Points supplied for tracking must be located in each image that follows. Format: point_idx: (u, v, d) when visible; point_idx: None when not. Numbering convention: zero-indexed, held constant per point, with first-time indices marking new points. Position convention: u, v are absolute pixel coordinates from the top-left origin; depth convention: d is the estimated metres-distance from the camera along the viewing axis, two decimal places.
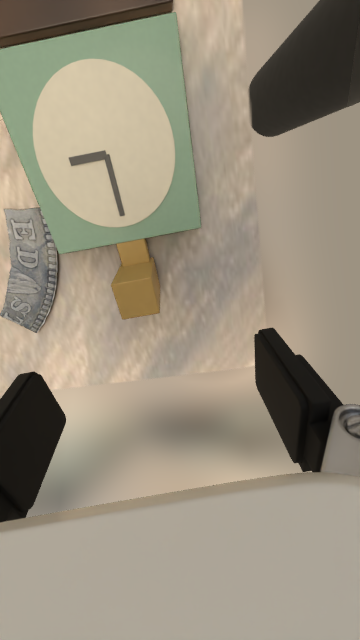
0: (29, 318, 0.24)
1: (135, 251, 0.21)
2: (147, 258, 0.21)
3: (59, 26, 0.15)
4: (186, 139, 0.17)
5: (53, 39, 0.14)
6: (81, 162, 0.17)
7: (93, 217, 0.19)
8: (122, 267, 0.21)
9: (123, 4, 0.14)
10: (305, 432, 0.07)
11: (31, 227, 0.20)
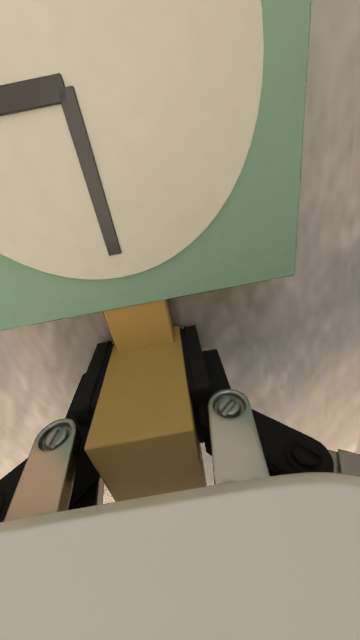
0: None
1: (144, 325, 0.10)
2: (170, 336, 0.10)
3: None
4: (297, 44, 0.06)
5: None
6: None
7: (43, 258, 0.08)
8: (117, 356, 0.10)
9: None
10: (199, 414, 0.08)
11: None
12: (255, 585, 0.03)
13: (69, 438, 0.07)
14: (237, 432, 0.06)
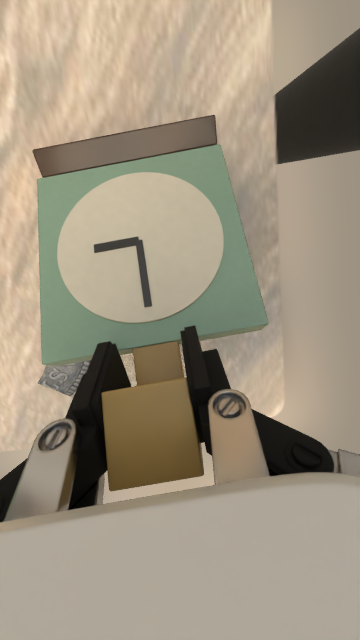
0: (65, 385, 0.26)
1: (161, 362, 0.13)
2: (180, 373, 0.12)
3: (115, 163, 0.17)
4: (236, 225, 0.14)
5: (108, 166, 0.16)
6: (108, 249, 0.14)
7: (106, 309, 0.13)
8: None
9: (173, 147, 0.16)
10: (199, 414, 0.08)
11: None
12: (255, 585, 0.03)
13: (69, 438, 0.07)
14: (237, 432, 0.06)
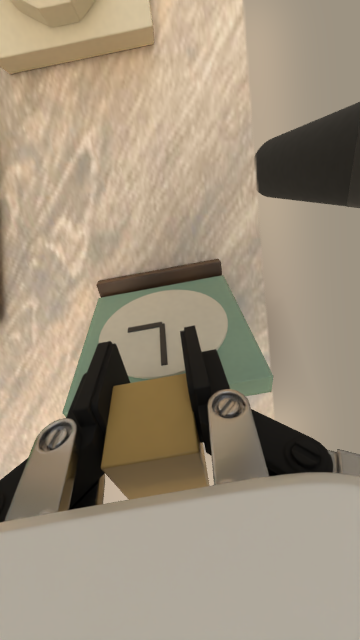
0: None
1: None
2: None
3: None
4: (237, 313, 0.18)
5: (146, 289, 0.23)
6: (138, 330, 0.18)
7: (129, 368, 0.15)
8: None
9: (191, 280, 0.24)
10: (198, 414, 0.08)
11: None
12: (255, 585, 0.03)
13: (69, 438, 0.07)
14: (237, 432, 0.06)
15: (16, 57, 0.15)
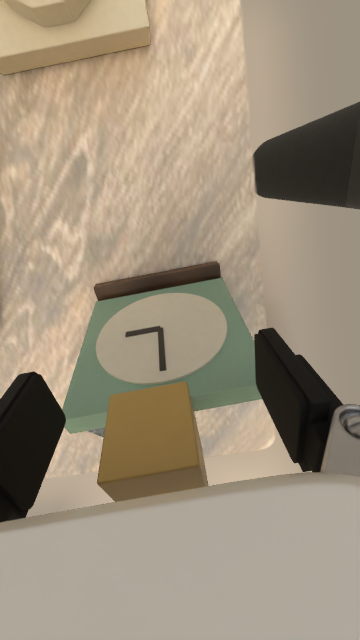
0: (101, 429, 0.33)
1: None
2: None
3: None
4: (237, 316, 0.18)
5: (144, 292, 0.23)
6: (136, 334, 0.18)
7: (127, 373, 0.15)
8: None
9: (190, 282, 0.23)
10: (305, 432, 0.07)
11: None
12: (255, 585, 0.03)
13: None
14: None
15: (9, 57, 0.15)
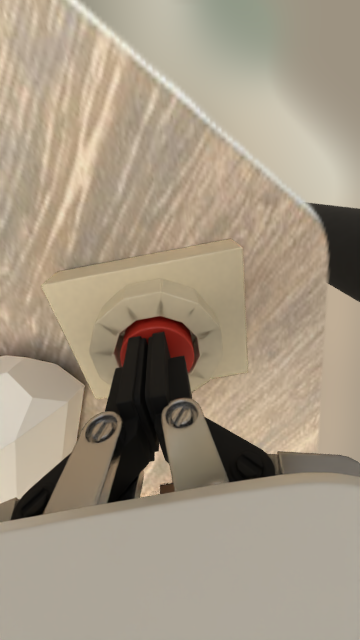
0: None
1: None
2: None
3: None
4: None
5: None
6: None
7: None
8: None
9: None
10: None
11: None
12: (255, 585, 0.03)
13: (114, 434, 0.07)
14: (192, 440, 0.06)
15: None
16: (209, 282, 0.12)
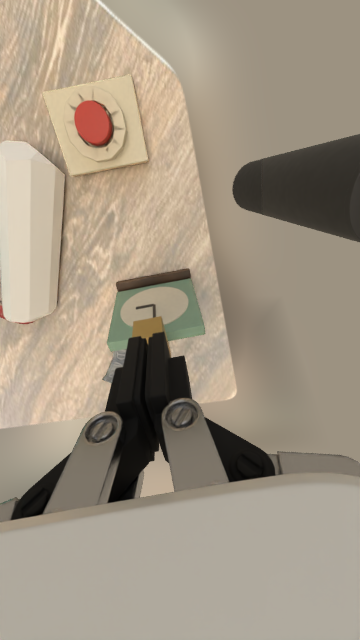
0: None
1: None
2: None
3: None
4: (194, 298, 0.34)
5: None
6: (141, 308, 0.34)
7: None
8: None
9: (172, 281, 0.39)
10: None
11: None
12: (255, 585, 0.03)
13: (114, 434, 0.07)
14: (192, 440, 0.06)
15: (82, 173, 0.31)
16: (119, 94, 0.27)
